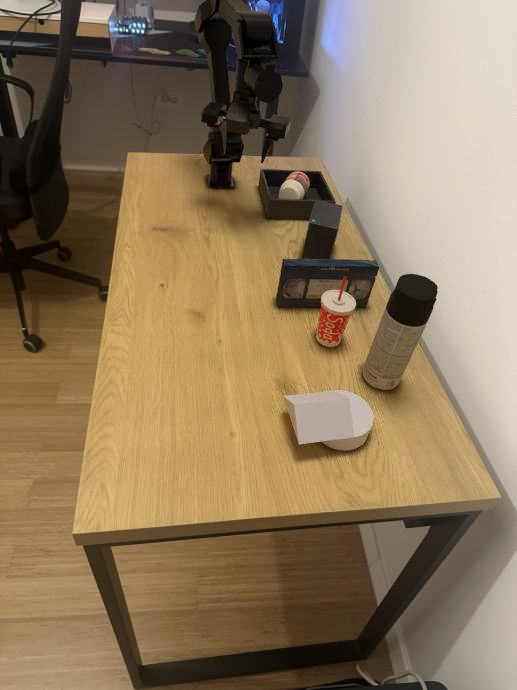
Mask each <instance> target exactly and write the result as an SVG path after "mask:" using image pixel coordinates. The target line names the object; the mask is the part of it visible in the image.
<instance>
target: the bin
mask: <svg viewBox="0 0 517 690" xmlns="http://www.w3.org/2000/svg"><path fill="white" fill-rule="evenodd" d="M293 172H302V173H304V174H305V175H306V176H307V177H308V179H309V183H310V185H309V189H308V191H307V193H306V194H305V196H304V198H303V199H302V200H293V199H279V192H280V188H281V186H282V184H283V183H284V182H285V180H286V179H287V177H288V176H289V175H290V174H291V173H293ZM257 187H258V191H259V194H260V198H261V202H262V205H263V208H264V211H265V215H266V219H267V220H291V221H309V220H310V217H311V214H312V210H313V207H314V204H315V201H316V200H320V201H324V202H328V203H333V204H337V201H336V198H335V197H334V195H333V193H332V191H331V189H330V187H329V184H328V183H327V181H326V179H325V176H324V175H323V173H322V171H321V170H299V169H277V168H276V169H275V168H260V170H259V179H258V186H257Z"/></svg>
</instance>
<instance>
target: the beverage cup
mask: <svg viewBox="0 0 517 690" xmlns="http://www.w3.org/2000/svg"><path fill="white" fill-rule="evenodd" d="M346 278H347V277H346V276H344V279H343V282H342V286H341V289H340V290H329V291H326V292H325V293H323V295H322V297H321V307H320V310H319V316H318V322H317V326H316V327H317V328H316V334H315V339H316V340H317V342H318V343H319V344H320V345H322V346H324V347H327V348H329V347H330V348H333V347H337V346H339V344H340V343H341V341H342V339H343V335H344V333H345V330H346V328H347V325H348V323H349V320H350V318H351V316H352V313H354V312H355V309H356V307H355V306H356V301H355V299H354V298H353V297H352V296H351V295H350V294H348V293H347V292H344V291H343V289H344V285H345V282H346Z"/></svg>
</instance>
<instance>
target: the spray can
mask: <svg viewBox="0 0 517 690" xmlns="http://www.w3.org/2000/svg"><path fill="white" fill-rule="evenodd" d="M438 289H439V286H438V284H436V282H435V281H433V280H432V279H430V278H428V277H426V276H424V275H421V274H417V273H407V274H406V273H405V274H402V275H400V276H399V278H398V280H397V282H396V284H395V287H394V289H393V291H392V292H391V293H390V295H389V298H388V300H387V303H386V306H385V308H384V309H383V310H384V311H383V314H382V316H381V319H380V321H379V324H378V327H377V330H376V332H375V335H374V337H373V340H372V342H371V345H370V348H369V351H368V353H367V355H366V359H365V361H364V364H363V366H362V371H361V372H362V374H361V375H362V378H363V379H364V382H366V383H367V384H368V385H369V386H370V387H372V388H374V389H376V390H382V391H390V390H393V389H395V388H396V387H397V386H398V385H400V382H401V381H402V380H401V379H402V378H403V376H404V374H405V372H406V370H407V368H408V365H409V363H410V361H411V358H412V356H413V354H414V352H415V351H416V348H417V346H418V344H419V342H420V340H421V337H422V335H423V333H424V331H425V329H426V327H427V324H428V322H429V320H430V317H431V315H432V314H433V311H434V307H435V305H436V301H437V296H438V292H439V291H438Z"/></svg>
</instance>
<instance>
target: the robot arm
mask: <svg viewBox="0 0 517 690" xmlns="http://www.w3.org/2000/svg"><path fill="white" fill-rule="evenodd" d="M194 28H195V32H196V33H197V39H198V43H199V45H200V46H201V48H202V49H203V51H204V53H205V54H206V59H207V67H208V69H207V70H208V77H209V89H210V100H211V101H210V102H208V104H207V105H205V106H204V107H203V108H202V109H201V112H200V113H201V114H200V116H201V117H200V122H201V123H204V124H206V126H207V127H208V128H209V130H208V133H207V141H206V142H205V144H204V146H203V147H202V152H203V153H202V154H203V158H204V160H205V161H206V162H207V164H208V165H210V166H209V173H208V174H207V183H208V188H218V189H220V188H221V189H235V188H234V187H235V184H234V180H233V167H234V166H233V165H234V163H241V160H242V156H243V152H244V148H245V144H244V141H243V139H242V136H247V135H248V134H249V132H250V130H253V129H255V130H258V129H259V128H262V129H266V135H265V136H264V144H263V147H262V152H261V158H260V163H261V164H264V162H265V160H266V158H267V155H268V153H269V151H270V149H271V147H272V145H273V144H274V142H279V141H280V139H281V140H283V139H286V137H287V135H288V134H289V132H290V129H291V124H292V123H291V122H292V121H291V119H290V117H288V116H285V115H279V114H272V116H271V117H270V118H265V117H262V103H267V104H269V103H272V102H274V101H276V100H277V99H278V98H279V97H280V95H281V93H282V92H283V88H284V83H283V79H282V76H281V74H280V73H279V72H278V71H276V62H274V61H278V60H279V51H280V45H279V40H278V33H277V29H276V24H275V22H274V21H273V17H272V16H271V14H270V13H268V12H267V13H266V12H263V11H258V10H253V9H251V8H250V7H249V6H248V5H247V4H246V3H245V2H243V1H242V0H204V1H203V2H201V3H200V4H199V6H198V7H197V10H196V12H195V16H194ZM232 40H233V43H234V47H235V54H236V55H237V56H236V66H235V67H236V68H235V82H234V91H233V94H232V97H231V86H230V75H229V64H228V63H229V62H228V49H229V47H230V45H231V42H232ZM231 98H232V99H231Z"/></svg>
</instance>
